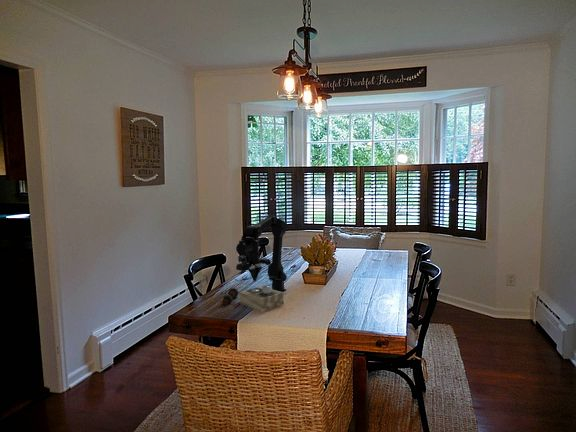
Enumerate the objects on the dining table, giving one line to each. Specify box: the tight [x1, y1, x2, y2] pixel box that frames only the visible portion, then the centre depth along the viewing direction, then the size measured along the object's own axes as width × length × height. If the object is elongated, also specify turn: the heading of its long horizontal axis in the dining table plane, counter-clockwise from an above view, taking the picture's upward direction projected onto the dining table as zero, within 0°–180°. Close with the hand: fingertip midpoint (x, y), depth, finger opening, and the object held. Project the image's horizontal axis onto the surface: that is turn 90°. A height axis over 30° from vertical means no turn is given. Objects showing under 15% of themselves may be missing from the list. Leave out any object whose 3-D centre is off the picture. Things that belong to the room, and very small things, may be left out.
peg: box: [262, 284, 272, 296], centre depth 209 cm, size 4×4×6 cm
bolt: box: [222, 287, 239, 306], centre depth 220 cm, size 6×5×15 cm
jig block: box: [238, 285, 285, 312], centre depth 213 cm, size 14×18×6 cm
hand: (254, 280), depth 215 cm, fingers closed
